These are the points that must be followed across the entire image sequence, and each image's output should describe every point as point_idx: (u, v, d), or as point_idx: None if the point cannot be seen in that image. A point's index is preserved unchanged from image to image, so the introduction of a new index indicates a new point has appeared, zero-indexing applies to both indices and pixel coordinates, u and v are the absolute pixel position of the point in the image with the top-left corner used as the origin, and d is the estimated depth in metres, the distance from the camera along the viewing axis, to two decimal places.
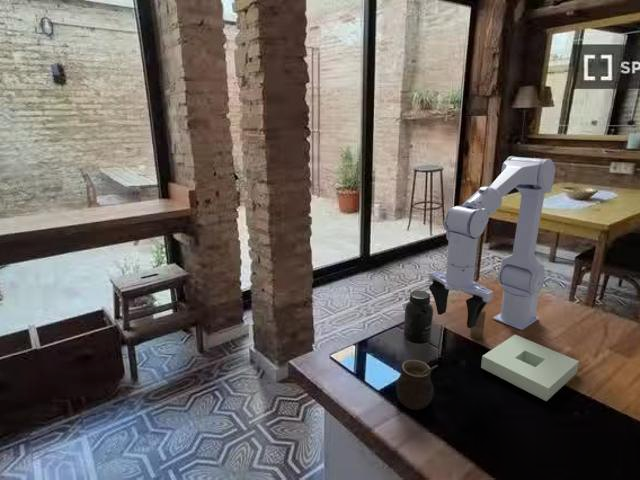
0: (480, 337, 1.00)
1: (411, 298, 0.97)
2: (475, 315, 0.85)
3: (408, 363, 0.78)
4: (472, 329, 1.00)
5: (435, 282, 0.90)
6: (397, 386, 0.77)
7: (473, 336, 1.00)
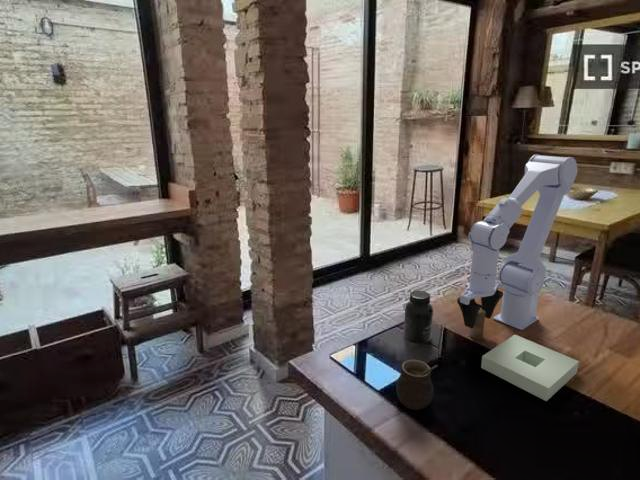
0: (480, 337, 1.00)
1: (411, 298, 0.97)
2: (470, 317, 0.96)
3: (408, 363, 0.78)
4: (472, 329, 1.00)
5: None
6: (397, 386, 0.77)
7: (473, 336, 1.00)
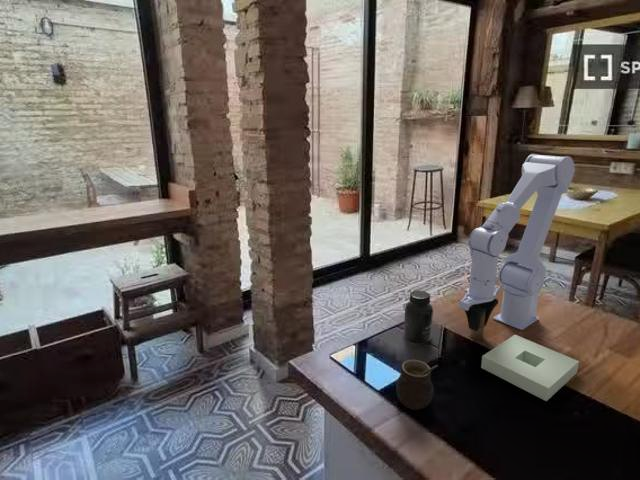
0: (480, 337, 1.00)
1: (411, 298, 0.97)
2: (474, 320, 0.98)
3: (408, 363, 0.78)
4: None
5: None
6: (397, 386, 0.77)
7: (473, 336, 1.00)
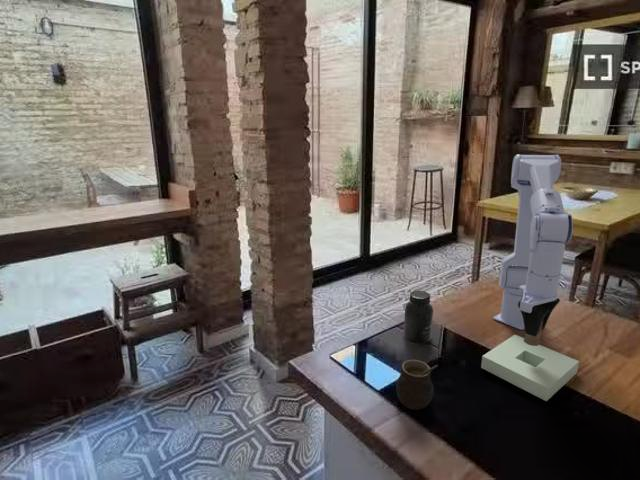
0: (537, 343, 0.84)
1: (411, 298, 0.97)
2: (533, 324, 0.82)
3: (408, 363, 0.78)
4: (527, 334, 0.84)
5: None
6: (397, 386, 0.77)
7: (528, 342, 0.84)
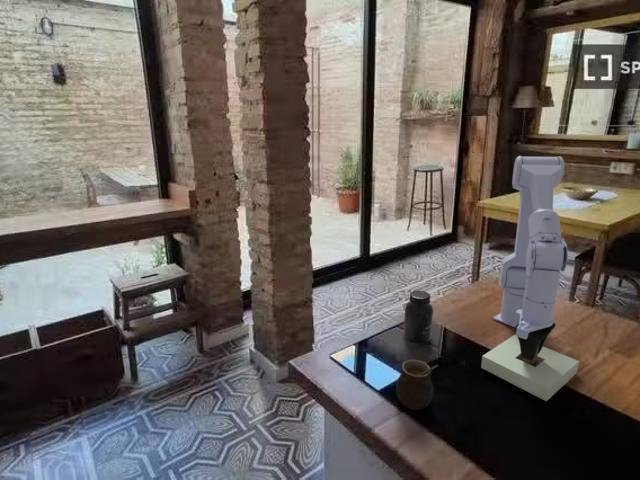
0: None
1: (411, 298, 0.97)
2: (529, 348, 0.84)
3: (408, 363, 0.78)
4: None
5: None
6: (397, 386, 0.77)
7: None
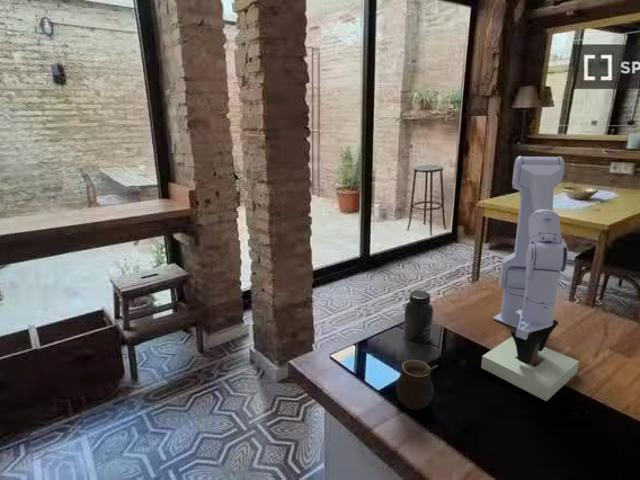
0: None
1: (411, 298, 0.97)
2: (526, 352, 0.83)
3: (408, 363, 0.78)
4: None
5: None
6: (397, 386, 0.77)
7: None
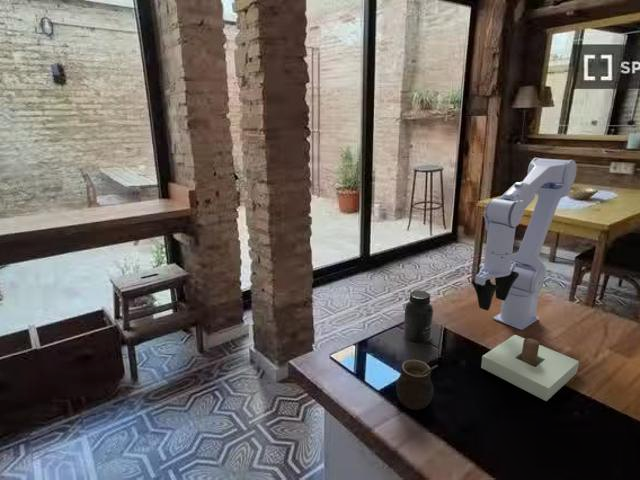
0: None
1: (411, 298, 0.97)
2: (485, 299, 0.93)
3: (408, 363, 0.78)
4: None
5: None
6: (397, 386, 0.77)
7: None
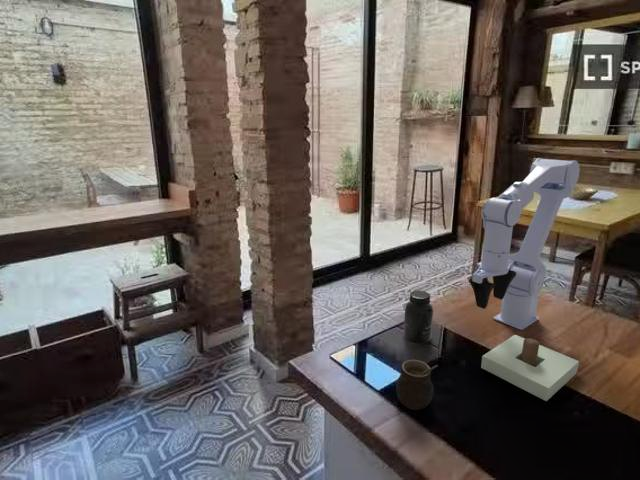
0: None
1: (411, 298, 0.97)
2: (482, 297, 0.93)
3: (408, 363, 0.78)
4: None
5: None
6: (397, 386, 0.77)
7: None
